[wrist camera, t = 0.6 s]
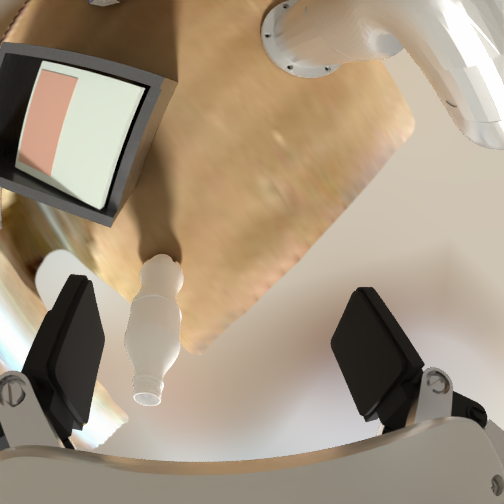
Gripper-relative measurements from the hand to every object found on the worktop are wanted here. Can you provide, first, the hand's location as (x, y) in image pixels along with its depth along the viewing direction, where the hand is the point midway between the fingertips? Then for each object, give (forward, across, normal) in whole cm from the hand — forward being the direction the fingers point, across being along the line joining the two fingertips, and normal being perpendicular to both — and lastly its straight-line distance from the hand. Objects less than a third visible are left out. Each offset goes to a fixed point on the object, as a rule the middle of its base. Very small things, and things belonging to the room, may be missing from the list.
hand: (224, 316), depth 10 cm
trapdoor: (+22, +16, -3) cm, 27 cm away
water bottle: (+34, +6, +21) cm, 40 cm away
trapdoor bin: (+34, +18, -4) cm, 38 cm away
